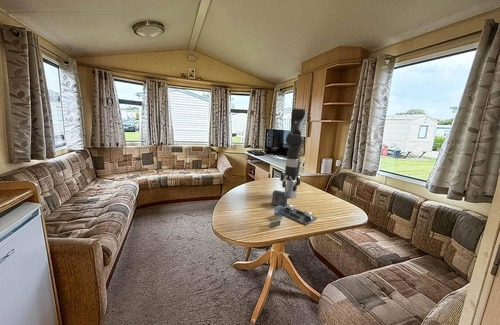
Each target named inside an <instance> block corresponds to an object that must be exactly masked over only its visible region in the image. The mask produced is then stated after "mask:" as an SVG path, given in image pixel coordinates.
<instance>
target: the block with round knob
mask: <svg viewBox="0 0 500 325" xmlns="http://www.w3.org/2000/svg"><path fill="white" fill-rule="evenodd" d="M276 215H277V217H278V216H279V217H281V218H283V217H285V216H284V207H283V206H281V205H279V206H274V214H273V216H276Z"/></svg>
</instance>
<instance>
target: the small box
mask: <svg viewBox="0 0 500 325" xmlns="http://www.w3.org/2000/svg"><path fill="white" fill-rule="evenodd" d="M271 196H272V198H271V206H274V207H276V206H279V205H281V206H283V207H284V208H286V207H285V206H286V204H288V197H287V196H288V193H287V192H285V191H281V190H276V189H275V190H274V191H273V192H272V195H271Z"/></svg>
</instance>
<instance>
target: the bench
mask: <svg viewBox="0 0 500 325" xmlns="http://www.w3.org/2000/svg"><path fill="white" fill-rule="evenodd" d="M283 217H285V218H288V219H290V220H293V221H295V222H297V223H300V224H302V225H304V226H308V225H309V224H312V222H315V221H317V219H318V217H317V216H314V214H313V213H312V212H310V211H307V210H305V211H302V210H299V209H297V208H295V207H294V206H293V205H291V204H288V203H287V204H286V206H285V208H284V216H283Z"/></svg>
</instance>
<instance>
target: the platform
mask: <svg viewBox="0 0 500 325" xmlns="http://www.w3.org/2000/svg"><path fill="white" fill-rule="evenodd" d="M267 220H268V223H269V229H270V228H274V227H278V226H281V221H282V220H284V219H283V217H279V216H278V217H277V215H276V216H274V215H272V216H270V217H269V218H268V219H267Z"/></svg>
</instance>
